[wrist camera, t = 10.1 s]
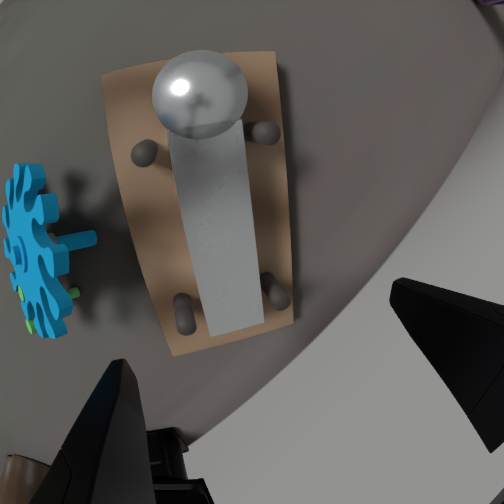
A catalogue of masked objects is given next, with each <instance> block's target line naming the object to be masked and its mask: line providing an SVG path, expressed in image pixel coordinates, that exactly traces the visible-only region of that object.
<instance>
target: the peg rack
mask: <svg viewBox="0 0 504 504" xmlns="http://www.w3.org/2000/svg"><path fill="white" fill-rule="evenodd" d="M220 54H222V55H224V56H226V57H228V58H229V59H231V60H232V61H233V62H234V63H235V64H236V65H237V66H238V67H239V68H240V70H241V71H242V73H243V75H244V77H245V80H246V83H247V88H248V98H247V104H246V107H245V110H244V112H243V114H242V116H241V117H240V119H242V125H243V134H244V143H245V151H246V160H247V169H248V178H249V186H250V195H251V204H252V213H253V222H254V231H255V240H256V249H257V258H258V267H259V276H260V286H261V295H262V304H263V313H264V323H261V324H257V325H254V326H250V327H247V328H243V329H240V330H236V331H232V332H229V333H225V334H221V335H217V336H213V337H211V336H210V333H209V330H208V326H207V323H206V319H205V315H204V312H203V308H202V304H201V300H200V296H199V292H198V288H197V284H196V280H195V276H194V272H193V268H192V263H191V259H190V255H189V250H188V246H187V241H186V237H185V232H184V227H183V222H182V218H181V213H180V208H179V203H178V197H177V192H176V187H175V182H174V176H173V170H172V165H171V159H170V153H169V147H168V141H167V134H166V131H167V130H168V129H166V128H165V127H164V126H163V125H162V124H161V122H160V121H159V119H158V117H157V115H156V113H155V111H154V108H153V103H152V90H153V85H154V82H155V79H156V77H157V75H158V74H159V72H160V71H161V69H162V68H163V67H164V66H165V65H166V64H167V63H168V62H169V61H170V60H172V59H169V60H163V61H157V62H152V63H147V64H142V65H138V66H133V67H129V68H125V69H121V70H117V71H113V72H109V73H106V74H102V75H101V80H102V90H103V98H104V106H105V114H106V121H107V127H108V133H109V139H110V145H111V151H112V156H113V161H114V166H115V171H116V176H117V181H118V185H119V190H120V194H121V198H122V202H123V206H124V210H125V214H126V218H127V222H128V226H129V230H130V233H131V237H132V240H133V244H134V247H135V251H136V254H137V257H138V261H139V264H140V267H141V270H142V273H143V276H144V280H145V283H146V286H147V289H148V292H149V294H150V297H151V300H152V303H153V306H154V309H155V311H156V314H157V317H158V319H159V322H160V325H161V327H162V330H163V333H164V335H165V338H166V340H167V343H168V345H169V348H170V350H171V353H172V355H173V357H174V356H178V355H183V354H187V353H191V352H195V351H200V350H204V349H208V348H212V347H216V346H219V345H223V344H227V343H231V342H234V341H238V340H242V339H245V338H249V337H252V336H256V335H259V334H263V333H266V332H269V331H273V330H276V329H279V328H283V327H286V326H289V325H292V324H293V285H292V258H291V237H290V218H289V201H288V186H287V172H286V158H285V146H284V134H283V123H282V112H281V102H280V92H279V83H278V74H277V65H276V57H275V51H256V52H231V53H220Z"/></svg>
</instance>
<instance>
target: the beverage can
mask: <svg viewBox="0 0 504 504" xmlns="http://www.w3.org/2000/svg"><path fill="white" fill-rule="evenodd" d="M477 1H478V2H479V3H480V4H482V5H504V0H477Z"/></svg>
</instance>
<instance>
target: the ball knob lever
mask: <svg viewBox="0 0 504 504" xmlns="http://www.w3.org/2000/svg"><path fill="white" fill-rule="evenodd" d="M247 98H248V88H247V83H246V80H245V77H244V75H243V73H242V71H241V70H240V68H239V67H238V66H237V65H236V64H235V63H234V62H233V61H232V60H231V59H229V58H228V57H226V56H224V55H222V54H220V53H217V52H214V51H209V50H194V51H189V52H186V53H183V54H181V55H178V56H177V57H175V58H173V59H172V60H170V61H169V62H168V63H167V64H166V65H165V66H164V67H163V68H162V69H161V71H160V72H159V74H158V75H157V77H156V79H155V82H154V85H153V90H152V103H153V108H154V111H155V113H156V115H157V117H158V119H159V121H160V122H161V124H162V125H163V126H164V127H165V128H166V129H168V130H167V131H166V134H167V141H168V147H169V153H170V159H171V165H172V170H173V176H174V182H175V187H176V192H177V197H178V203H179V208H180V213H181V218H182V222H183V227H184V232H185V237H186V241H187V246H188V250H189V255H190V259H191V263H192V268H193V272H194V276H195V280H196V284H197V288H198V292H199V296H200V300H201V304H202V308H203V312H204V315H205V319H206V323H207V326H208V330H209V333H210V336H211V337H213V336H217V335H221V334H225V333H229V332H232V331H236V330H240V329H243V328H247V327H250V326H254V325H257V324H261V323H264V313H263V304H262V295H261V286H260V276H259V267H258V258H257V249H256V240H255V231H254V222H253V213H252V204H251V195H250V186H249V178H248V169H247V160H246V151H245V143H244V134H243V125H242V119H240V117H241V116H242V114H243V112H244V110H245V107H246V104H247Z"/></svg>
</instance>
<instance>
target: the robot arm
mask: <svg viewBox="0 0 504 504" xmlns="http://www.w3.org/2000/svg"><path fill="white" fill-rule="evenodd" d="M389 301H390V305H391V307H392V308H393V309H394V311H395V313H396V314H397V316H398V318H399V319H400V321H401V322H402V324H403V325H404V327H405V329H406V330H407V332H408V333H409V335H410V336H411V338H412V339H413V341H414V342H415V343H416V345H417V346H418V347H419V348H420V350H421V351H422V353H423V354H424V355H425V356H426V358H427V359H428V361H429V362H430V363H431V365H432V366H433V367H434V369H435V370H436V371H437V373H438V374H439V376H440V377H441V379H442V380H443V381H444V383H445V384H446V386H447V387H448V388H449V390H450V391H451V393H452V394H453V396H454V397H455V399H456V400H457V402H458V403H459V405H460V406H461V408H462V409H463V411H464V412H465V414H466V415H467V417H468V419H469V420H470V422H471V423H472V425H473V427H474V428H475V430H476V431H477V433H478V435H479V436H480V438H481V439H482V441H483V443H484V445H485V446H486V448H487V449H488V451H489V452H490V453H492V452H493V451H494V450H496V449H497V448H498V447H499V446H500V445H501V444H502V443H503V442H504V305H500V304H496V303H493V302H490V301H486V300H482V299H479V298H476V297H472V296H468V295H465V294H462V293H458V292H454V291H451V290H447V289H444V288H440V287H436V286H433V285H429V284H426V283H422V282H419V281H415V280H411V279H408V278H399V279H397V280H395V281H394V282H393V284H392V289H391V294H390V299H389ZM61 449H62V450H61ZM61 449H60V450H59V452H58V454H57V456H56V458H55V459H54V461H53V463H52V465H51V467H50V468H49V470H48V472H47V474H46V475H45V477H44V479H43V480H42V482H41V483H40V485H39V487H38V488H37V490H36V491H35V493H34V494H33V496H32V498H31V499H30V501H29V502H28V504H214V502H213V500H212V497H211V496H210V493H209V491H208V488H207V486H206V484H205V481H204V479H203V478H199V479H189V480H188V477H187V473H186V469H185V464H184V460H183V455H182V453H185V452H188V451H189V449H188V447H187V445H186V444H185V443H184V441H183V440H182V438H181V437H180V436H179V434H178V433H177V431H176V430H175V429H173V428H169V429H163V430H157V431H151V432H146V426H145V421H144V416H143V411H142V405H141V400H140V394H139V388H138V382H137V379H136V376H135V374H134V373H133V371H132V369H131V367H130V366H129V364H128V362H127V361H126V360H125V359H117V360H113V361H111V363H110V364H109V366H108V367H107V369H106V371H105V372H104V374H103V375H102V377H101V379H100V380H99V382H98V384H97V385H96V387H95V389H94V390H93V392H92V394H91V395H90V397H89V399H88V400H87V402H86V404H85V405H84V407H83V409H82V411H81V412H80V414H79V416H78V418H77V419H76V421H75V423H74V425H73V426H72V428H71V430H70V432H69V434H68V435H67V437H66V439H65V441H64V443H63V445H62V446H61ZM490 504H504V488H503V489H502V491H501V492H500V493H499V494H498V495H497V496H496V497H495V498H494V500H493V501H492V502H491V503H490Z"/></svg>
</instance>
